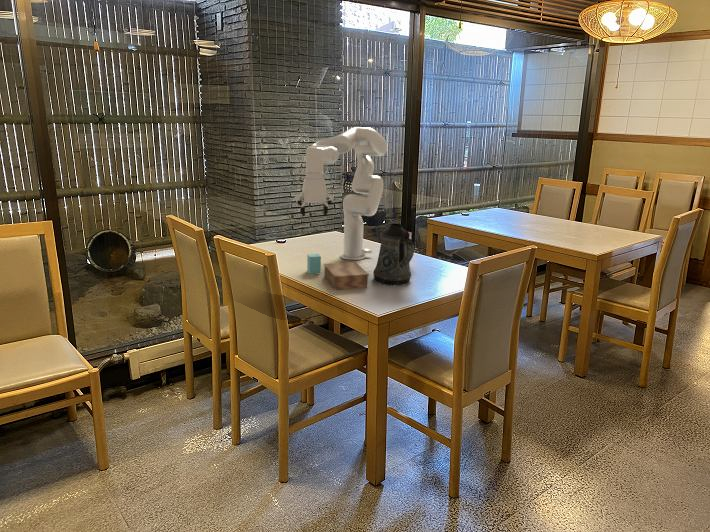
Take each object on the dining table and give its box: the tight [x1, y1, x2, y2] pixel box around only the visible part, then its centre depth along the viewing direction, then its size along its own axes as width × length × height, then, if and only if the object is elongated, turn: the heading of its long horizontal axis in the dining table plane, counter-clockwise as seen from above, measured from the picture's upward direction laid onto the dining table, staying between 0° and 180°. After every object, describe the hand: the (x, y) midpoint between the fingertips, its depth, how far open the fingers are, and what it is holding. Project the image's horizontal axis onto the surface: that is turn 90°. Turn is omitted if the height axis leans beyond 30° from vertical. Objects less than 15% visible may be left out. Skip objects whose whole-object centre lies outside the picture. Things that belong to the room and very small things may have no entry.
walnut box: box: [323, 261, 370, 290], centre depth 228 cm, size 15×19×6 cm
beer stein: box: [372, 223, 415, 286], centre depth 230 cm, size 16×19×25 cm
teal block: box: [306, 253, 322, 275], centre depth 240 cm, size 5×5×8 cm
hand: (314, 215), depth 234 cm, fingers open, 9 cm apart
